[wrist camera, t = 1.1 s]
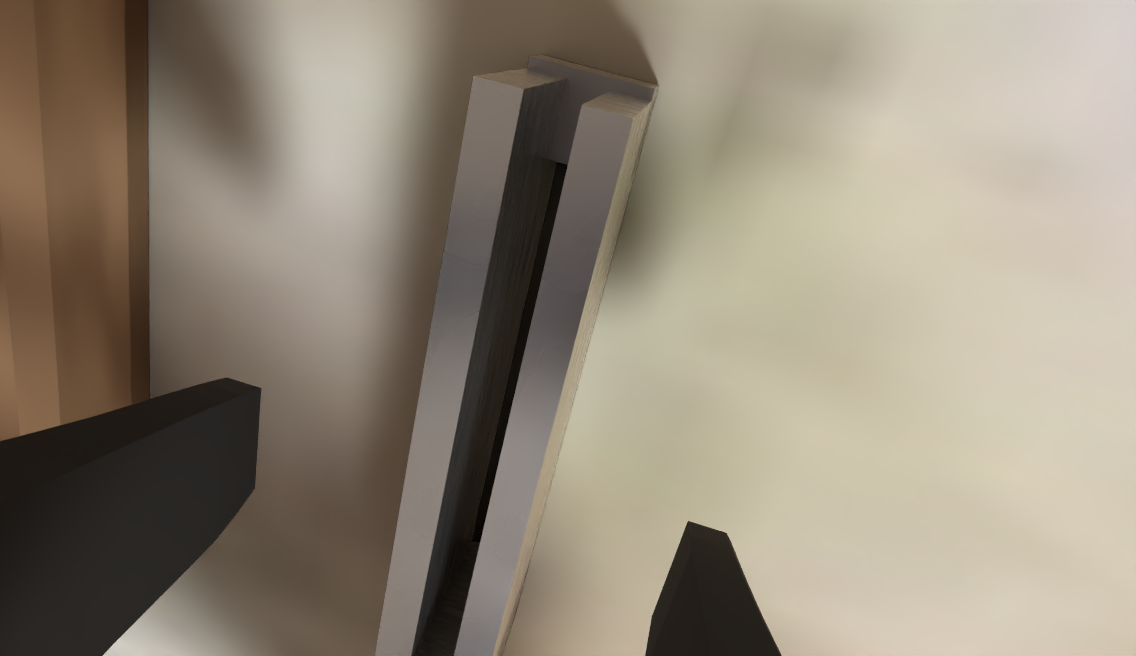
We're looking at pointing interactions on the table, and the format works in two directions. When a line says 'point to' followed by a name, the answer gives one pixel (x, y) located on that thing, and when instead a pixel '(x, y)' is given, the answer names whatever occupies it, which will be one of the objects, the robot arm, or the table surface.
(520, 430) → the slotted metal channel
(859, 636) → the table surface
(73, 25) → the wooden tray
